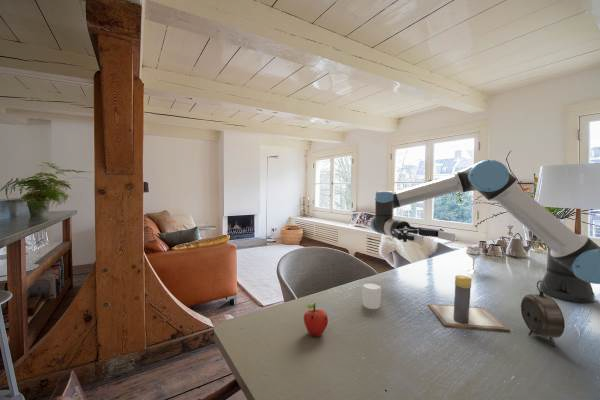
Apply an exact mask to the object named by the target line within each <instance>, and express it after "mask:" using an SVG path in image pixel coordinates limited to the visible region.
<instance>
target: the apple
mask: <svg viewBox="0 0 600 400" xmlns="http://www.w3.org/2000/svg"><path fill="white" fill-rule="evenodd" d="M316 305H317V303H316V302H313V303H312V304H308V305H307V306H306V307H307V308H308V309H309V310H307V311H305V312H304V314H303V322H304V326H305V328H306V331H307V332H308V334H309V335H310V336H312V337H320V336H321V335H322V334H323V333H324V332H325V330H326V328H327V327H328V322H329V317H328V314H327V313H326V312H325V311H326V310H323V309H316Z"/></svg>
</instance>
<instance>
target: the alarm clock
mask: <svg viewBox="0 0 600 400" xmlns="http://www.w3.org/2000/svg"><path fill="white" fill-rule="evenodd" d="M541 282H543V281H542V279H540V280H538V281H537V283H536V288H537V290H538V292H539V294H536V293H535V294H533V293H531V294H526V295H524V297H523V298H522V299H521V303H520V312H521V316H522V319H523V321H524V324H525V325H526V327H527V328H528V329H529V333H528V336H529V337H530V336H531V335H532V334H534V335H535V336H538V337H541V338H542V337H543V338H548V339H549V341H550V343H551V346H552V347H553V348H556V345H555V341H554V339H555V338H556V339H557V338H560V337H561V336H562V335H563V334H564V332H565V322H566V321H565V318H564V314H563V312H562V309H561V308H560V306H559V305H558V303H557V302H556V301H555V300H554V298H552V296H550V295H547V294H545V292H546V290H547V286H546V284H545V282H543V283H544V285H545V291H542V290H540V286H539V284H540V283H541Z"/></svg>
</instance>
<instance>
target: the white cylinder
mask: <svg viewBox="0 0 600 400" xmlns="http://www.w3.org/2000/svg"><path fill="white" fill-rule="evenodd" d="M382 287H383V286H382V285H380V284H377V283H374V282H365V283H362V284H361V291H362V293H361V294H362V295H361V296H362V305H363V307H364V308H365V309H369V310H377V309H379V308H380V305H381V299H382Z"/></svg>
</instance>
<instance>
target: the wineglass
mask: <svg viewBox="0 0 600 400" xmlns="http://www.w3.org/2000/svg"><path fill="white" fill-rule="evenodd" d="M465 253H466V255H467V256H468V257H469V258H471V260H472V269H467V272H468V273H470V274H480V272H478V270H475V261H476V259H479V258H481V257H482V256H483V248H482V247H478V246H473V245H471V246H470V245H469V246H466V249H465Z"/></svg>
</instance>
